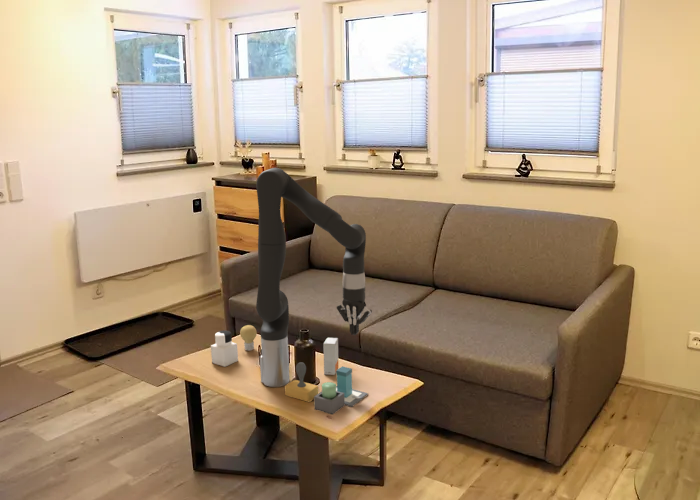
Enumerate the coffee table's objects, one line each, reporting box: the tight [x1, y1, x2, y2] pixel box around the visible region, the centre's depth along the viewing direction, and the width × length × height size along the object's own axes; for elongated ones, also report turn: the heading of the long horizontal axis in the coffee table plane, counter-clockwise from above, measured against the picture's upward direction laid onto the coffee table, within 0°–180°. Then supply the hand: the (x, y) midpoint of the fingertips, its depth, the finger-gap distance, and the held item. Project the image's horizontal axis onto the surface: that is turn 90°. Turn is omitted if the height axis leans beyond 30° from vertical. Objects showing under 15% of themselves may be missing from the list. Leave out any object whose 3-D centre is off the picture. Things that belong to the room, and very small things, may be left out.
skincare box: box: [322, 337, 339, 376], centre depth 238 cm, size 6×4×12 cm
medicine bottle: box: [210, 329, 239, 368], centre depth 248 cm, size 7×7×12 cm
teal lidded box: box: [335, 366, 353, 398], centre depth 218 cm, size 4×4×9 cm
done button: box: [321, 381, 337, 400], centre depth 211 cm, size 5×5×4 cm
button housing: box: [313, 391, 346, 415], centre depth 212 cm, size 7×7×4 cm
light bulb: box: [239, 324, 257, 352], centre depth 260 cm, size 6×6×10 cm
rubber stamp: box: [284, 361, 319, 403], centre depth 220 cm, size 10×6×12 cm, turn 58°
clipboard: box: [336, 385, 368, 407], centre depth 220 cm, size 12×10×1 cm
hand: (354, 334), depth 221 cm, fingers closed
